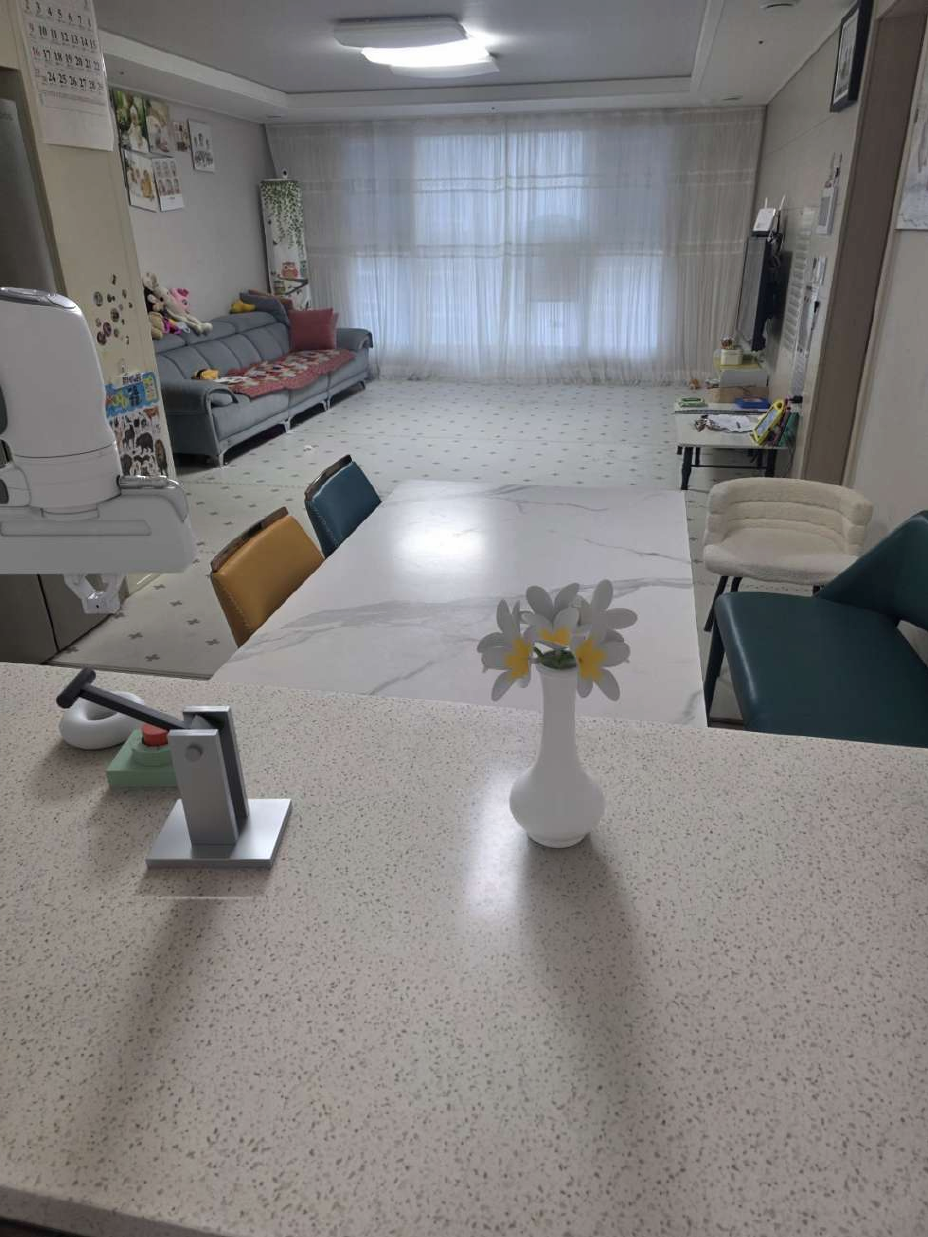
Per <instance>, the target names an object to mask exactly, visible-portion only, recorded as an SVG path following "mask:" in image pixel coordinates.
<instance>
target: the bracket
mask: <svg viewBox="0 0 928 1237" xmlns="http://www.w3.org/2000/svg"><path fill="white" fill-rule="evenodd" d="M181 713H182V719H183V721H185V722H188V723H191V722H192V721H193V719H194V717H195V716H196V715H197V716H200V717H202V718H205V719H207V720H210V721H212V722H215V723H218V724H220V725H223V726H224V728H223V731H222V733H221V736H220V738H219V733H218V730H170V732H169V733H168V735H167V739H168V744H169V748H170V752H171V757H172V761H173V766H174V770H175V774H176V779H177V783H178V787H177V788H178V791H179V796H180V798H177V800H176V802H175V803H174V805H173V807H172V808H171V811H170V812H169V814H168V816H167V818H166V820H165V822H164V824H163V825H162V826H161V829H160V831H159V832H158V834H157V837H156V838H155V839H154V842H153V844H152V846H151V847H150V849H149V851H148V853H147V855H146V856H145V859H144V861H145V866H146V869H149V870H150V869H152V870H153V869H155V870H156V869H157V870H158V869H159V870H160V869H163V870H165V869H169V870H172V869H173V870H175V869H176V870H177V869H179V870H181V869H182V870H183V869H184V870H185V869H186V870H187V869H191V870H192V869H194V870H195V869H198V870H200V869H203V870H204V869H205V870H207V869H209V870H210V869H211V870H215V869H216V870H218V869H220V870H222V869H227V870H228V869H229V870H234V869H235V870H237V869H239V870H240V869H241V870H243V869H244V870H246V869H248V870H249V869H250V870H251V869H252V870H255V869H256V870H259V869H262V870H265V869H267V870H270V869H272V868H273V866H274V863H275V861H276V857H277V854H278V851H279V848H280V846H281V843H282V839H283V838H284V834H285V831H286V828H287V825H288V822H289V819H290V816H291V813H292V810H293V808H294V807H293V801H292V798H248V794H247V789H246V782H245V778H244V772H243V767H242V763H241V761H242V760H241V757H240V756H241V755H240V750H239V745H238V739H237V734H236V729H235V723H234V717H233V712H232V706H231V705H198V706H197V705H195V706H194V705H192V706H191V705H187V706H184V708H183V709H182V711H181Z"/></svg>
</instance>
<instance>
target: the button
mask: <svg viewBox="0 0 928 1237" xmlns="http://www.w3.org/2000/svg"><path fill="white" fill-rule="evenodd" d="M168 733H169V732H168V731H166V730H163V729H160V728H158V727H155V726H153V725H150V724H147V723H145V724H144V725H143V726H142V734H143V738H144V742H145V744H146V745H147V746H149V747H159V746H163V745H166V744H168V739H167V735H168Z"/></svg>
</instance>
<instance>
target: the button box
mask: <svg viewBox="0 0 928 1237" xmlns="http://www.w3.org/2000/svg"><path fill="white" fill-rule="evenodd" d="M105 775H106V778H107V782H108V786H109V787H110V788H178V783H177V779H176V774H175V770H174V766H173V761H172V757H171V752H170V748H169V744H166V745H163V746H159V747H149V746H147V745H146V744H145V742H144V738H143V734H142V728H141V729H139V730H134V731H133V732H132V734H131V735H130V737H129V738H128V739H127V740H126V741H124V744H123V745H122V746H121V748H120V749H119V751H118V752H117V753H116V755H115V757H114V758H113V759H112V761H111V762H110V763H109V765H108V766H107V768H106V769H105Z"/></svg>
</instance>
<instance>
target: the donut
mask: <svg viewBox="0 0 928 1237" xmlns="http://www.w3.org/2000/svg"><path fill="white" fill-rule="evenodd" d="M109 692H111V693H113V694H116V695H119V696H121V697H124V698H126V699H129V700H131V701H134V702H137V703H139V704H142V705H144V706H147V705H146V703H145V701H144V700H143V699H142V698H141V697H140V696H138V695H137V694H135V693H132V692H129V691H128V692H127V691H124V690H123V691H121V690H111V691H109ZM144 724H145V722H142V721H140V720H137V719H134V718H132V717H129V716H127V715H124V714H121V713H119V712H116V711H114V710H111V709H108V708H106V707H103V706H101V705H98V704H95V703H93V702H90V701H88V700H85V699H83V698H81V699H80V700H79V699H78V700H77V701H76V702H75V703H74V704H73V705H72V706H71V707H70V708H68V709H66V710H65V712H63V714H62V715H61V717H60V721H59V723H58V730H59V733H60V736H61V738H62V740H64V741H65V742H66V743H67V744H69V745H70V746H72V747H75V748H78V749H82V750H99V749H108V748H110V747H114V746H117V745H121V744H122V743H125V742H126V741H127V739H128V738H129V737H130V735H131V734H132V732H133V731H134V730H139V729H141V728H142V726H143V725H144Z"/></svg>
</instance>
